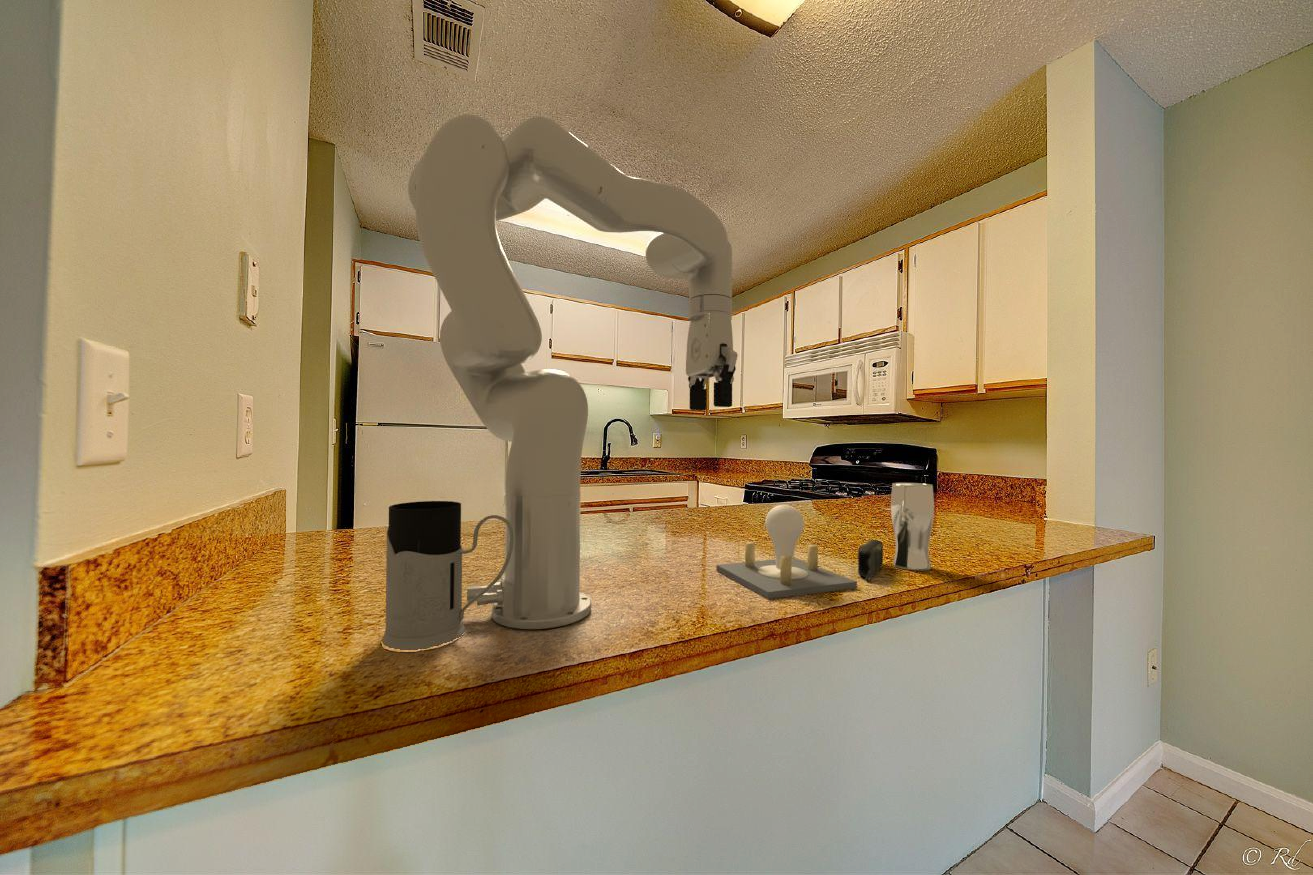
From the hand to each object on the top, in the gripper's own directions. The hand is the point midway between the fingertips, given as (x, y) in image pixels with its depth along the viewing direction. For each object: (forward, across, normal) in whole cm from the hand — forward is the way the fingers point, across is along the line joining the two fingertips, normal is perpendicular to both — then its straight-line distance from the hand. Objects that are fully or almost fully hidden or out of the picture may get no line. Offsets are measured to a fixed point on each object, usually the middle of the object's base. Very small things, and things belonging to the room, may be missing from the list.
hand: (709, 408), depth 85 cm
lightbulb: (+27, +10, +9) cm, 30 cm away
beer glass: (+28, +10, +36) cm, 47 cm away
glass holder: (+28, +16, -41) cm, 52 cm away
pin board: (+28, +9, +9) cm, 31 cm away
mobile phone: (+29, +10, +26) cm, 40 cm away
